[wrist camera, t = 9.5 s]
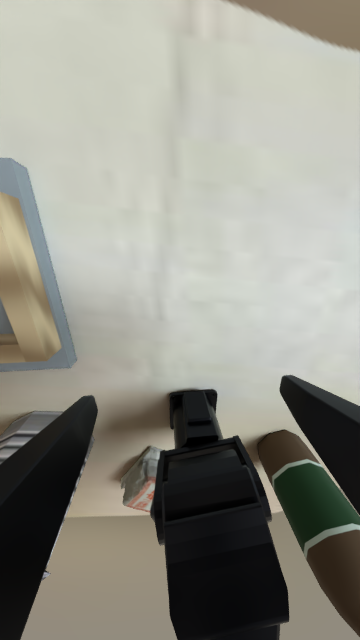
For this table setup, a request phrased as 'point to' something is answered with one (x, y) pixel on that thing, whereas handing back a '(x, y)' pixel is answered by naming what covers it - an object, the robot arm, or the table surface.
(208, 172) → the table surface
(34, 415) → the can
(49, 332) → the oak loop
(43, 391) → the table surface
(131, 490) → the packaged product
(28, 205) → the hook board
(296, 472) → the beer bottle
